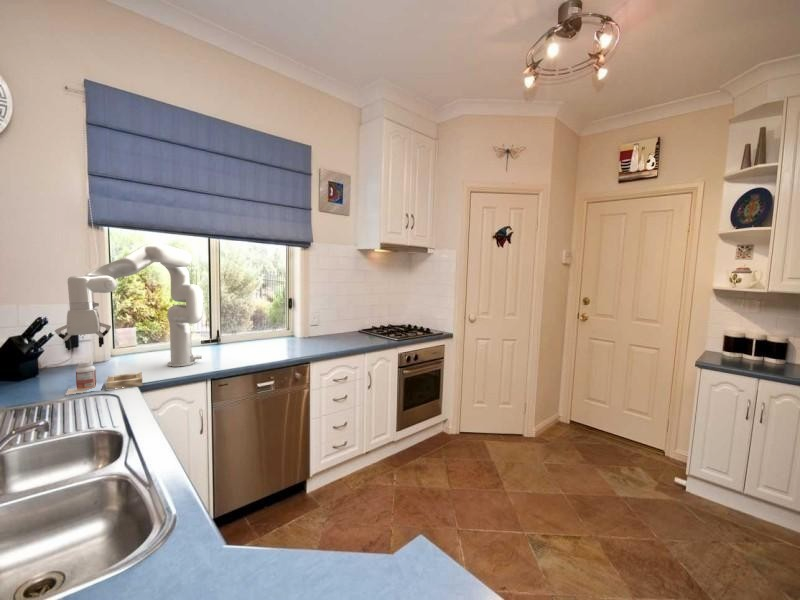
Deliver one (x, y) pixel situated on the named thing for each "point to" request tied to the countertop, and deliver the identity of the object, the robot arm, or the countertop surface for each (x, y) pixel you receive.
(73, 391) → the cream pad
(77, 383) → the pill bottle
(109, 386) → the holder block
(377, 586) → the countertop surface
